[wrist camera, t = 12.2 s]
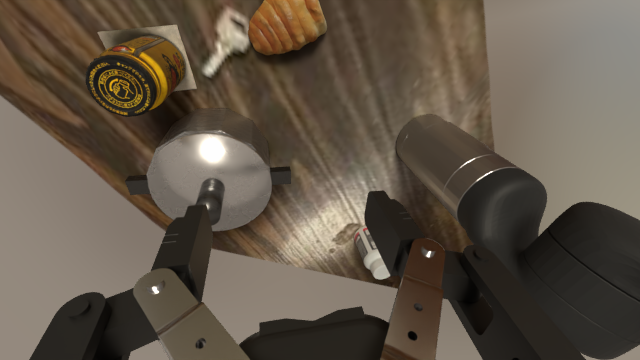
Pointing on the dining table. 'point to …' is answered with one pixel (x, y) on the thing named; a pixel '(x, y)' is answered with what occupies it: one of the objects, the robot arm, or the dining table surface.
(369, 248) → the pill bottle
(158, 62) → the condiment
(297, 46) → the pastry
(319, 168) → the dining table surface
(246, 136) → the pot
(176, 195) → the lid
